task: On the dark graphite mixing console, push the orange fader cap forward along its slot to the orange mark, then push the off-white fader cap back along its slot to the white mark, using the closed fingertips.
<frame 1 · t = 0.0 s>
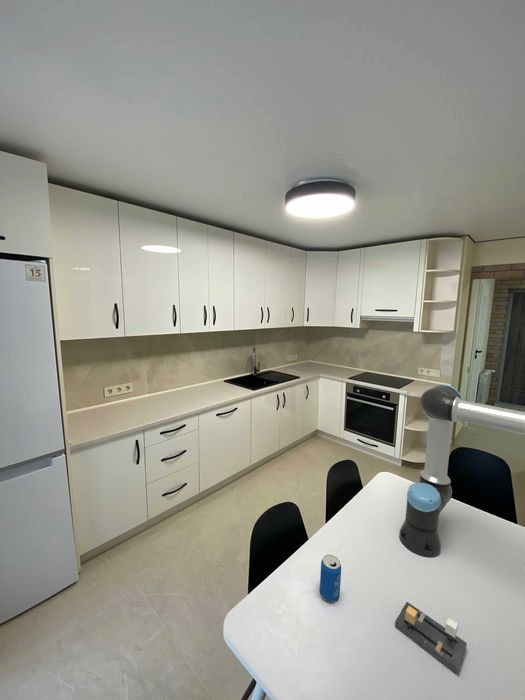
console: (429, 637, 83), on the table
beverage can: (329, 595, 96), on the table
fader b: (451, 630, 82), point 4 cm above the table, slide at 4.5 cm
fader a: (410, 618, 85), point 4 cm above the table, slide at -4.5 cm
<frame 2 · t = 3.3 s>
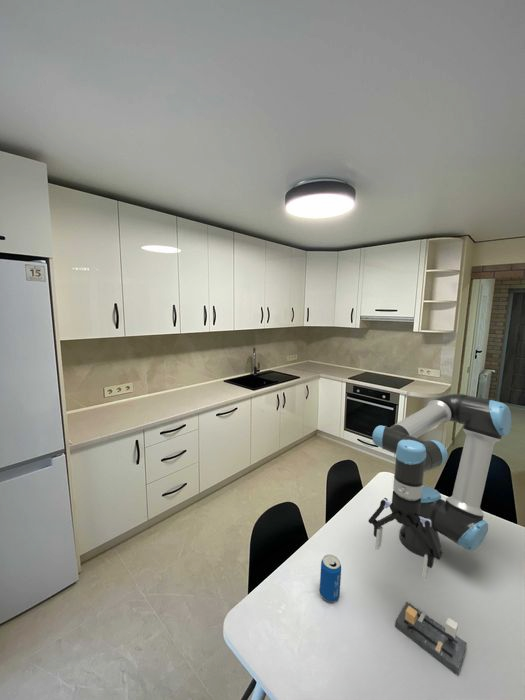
hand: (400, 560, 87), 19 cm above the table, fingers open, 13 cm apart
nothing on the table moved.
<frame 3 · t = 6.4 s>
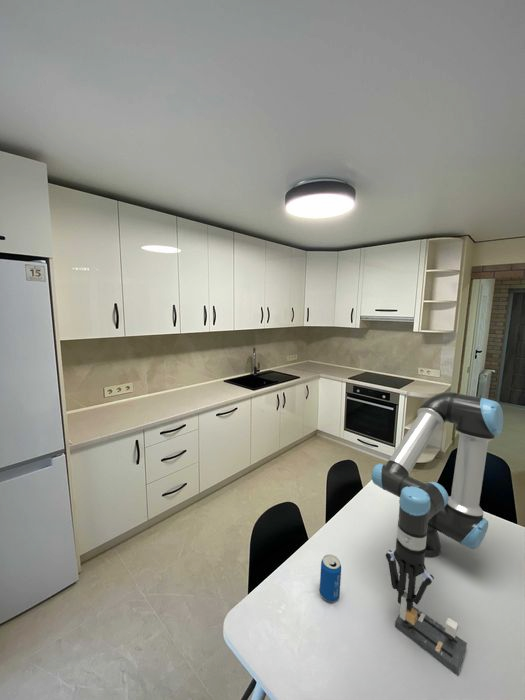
hand: (404, 615, 86), 4 cm above the table, fingers closed
fader a: (411, 618, 85), point 4 cm above the table, slide at -4.4 cm, touching gripper
everything else where it was.
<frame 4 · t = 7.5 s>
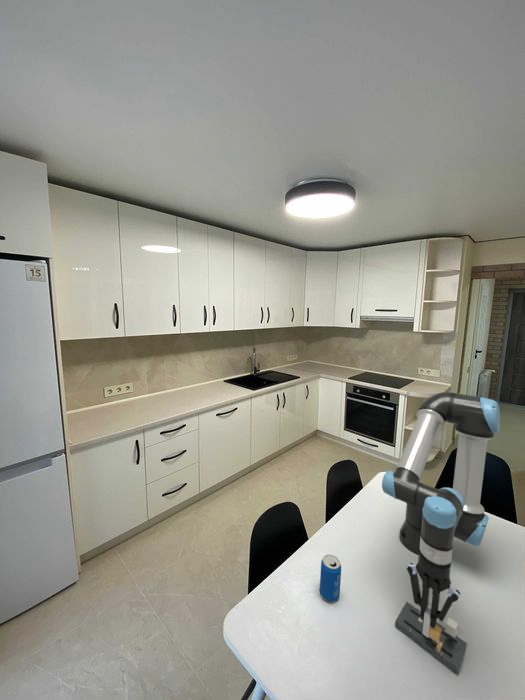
hand: (426, 632, 81), 4 cm above the table, fingers closed
fader a: (434, 635, 80), point 4 cm above the table, slide at 1.8 cm, touching gripper
everything else where it was.
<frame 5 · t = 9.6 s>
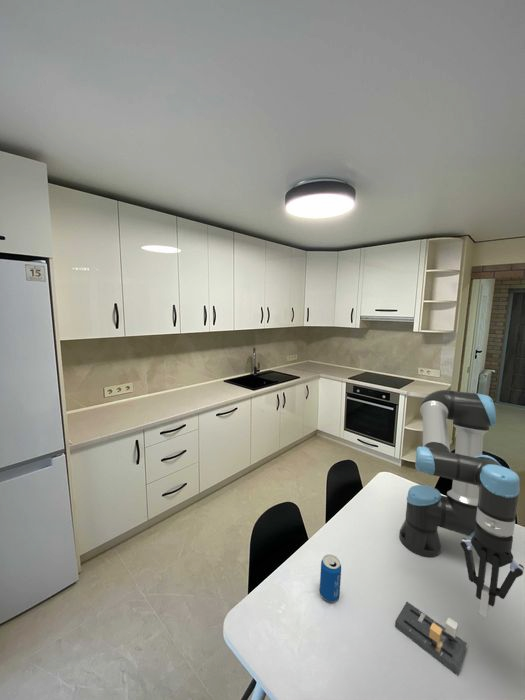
hand: (483, 612, 76), 16 cm above the table, fingers closed
fader a: (435, 635, 80), point 4 cm above the table, slide at 1.9 cm
everything else where it was.
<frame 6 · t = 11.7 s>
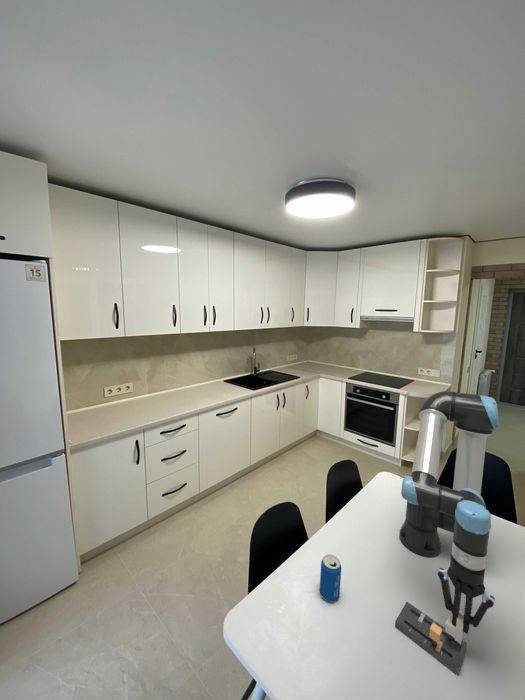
hand: (458, 638, 80), 3 cm above the table, fingers closed
fader b: (451, 630, 82), point 4 cm above the table, slide at 4.5 cm, touching gripper
everything else where it was.
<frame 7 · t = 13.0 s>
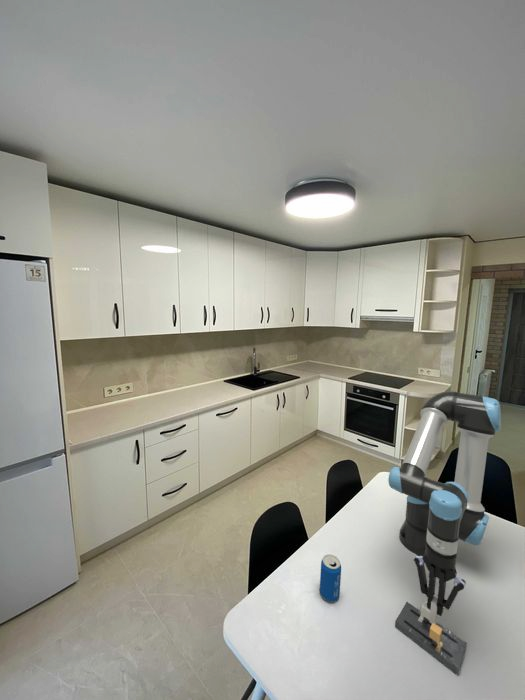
hand: (433, 620, 85), 4 cm above the table, fingers closed
fader b: (426, 613, 86), point 4 cm above the table, slide at -1.9 cm, touching gripper
everything else where it was.
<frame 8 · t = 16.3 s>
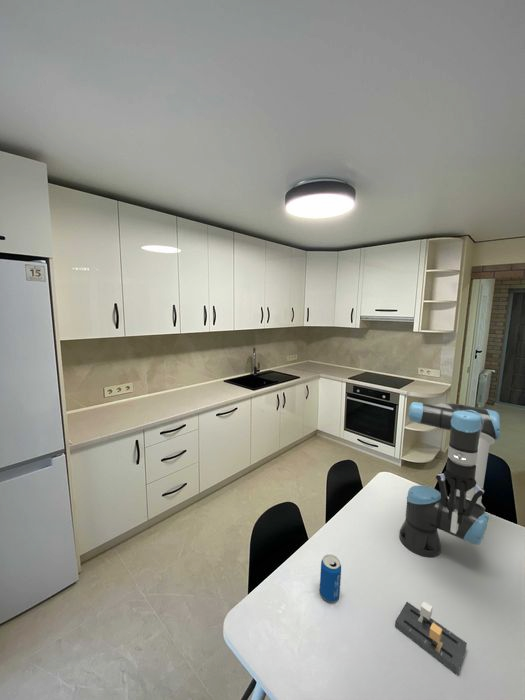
hand: (454, 530, 93), 24 cm above the table, fingers closed
fader b: (426, 613, 86), point 4 cm above the table, slide at -2.0 cm
everything else where it was.
at the end: fader a slide at 1.9 cm; fader b slide at -2.0 cm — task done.
